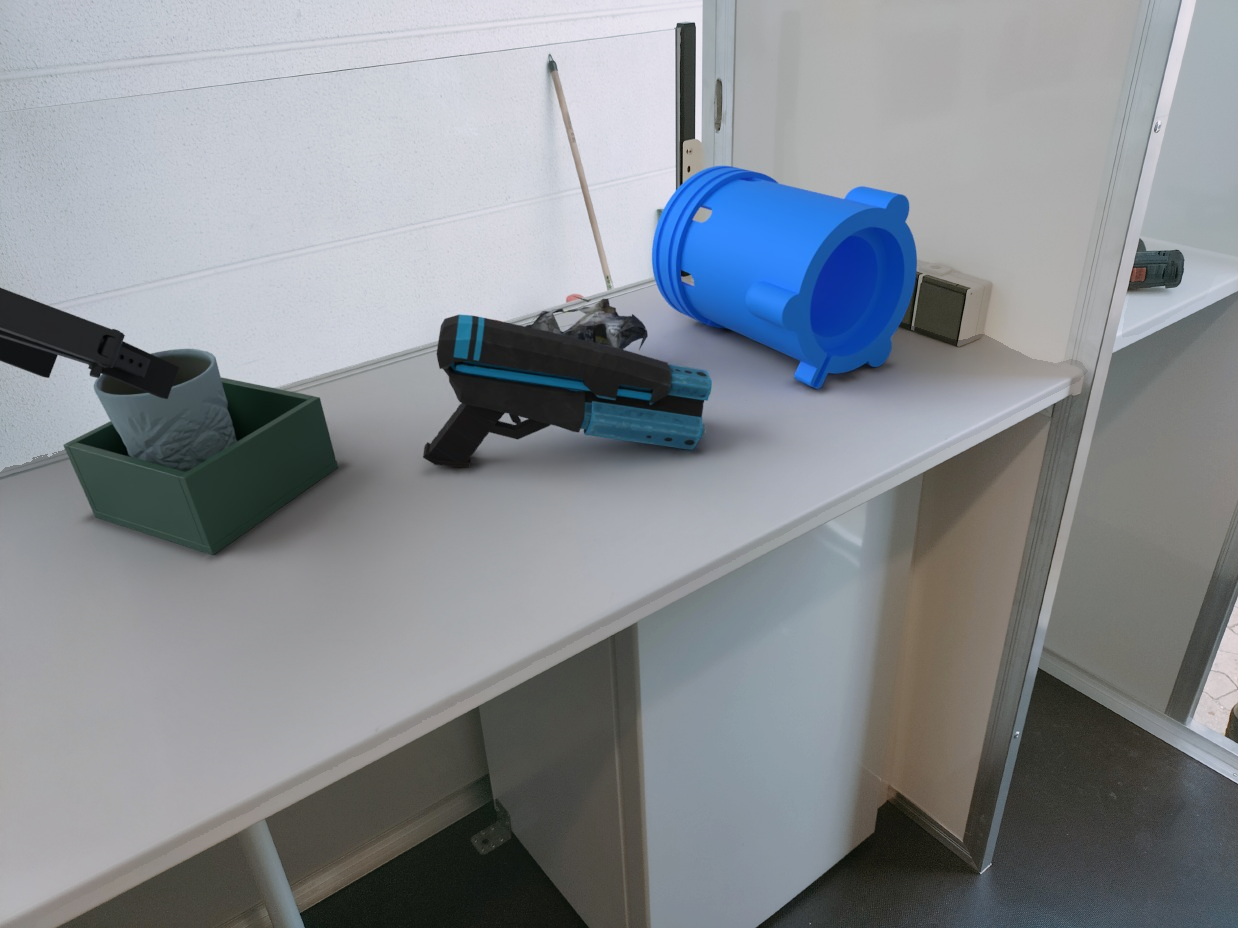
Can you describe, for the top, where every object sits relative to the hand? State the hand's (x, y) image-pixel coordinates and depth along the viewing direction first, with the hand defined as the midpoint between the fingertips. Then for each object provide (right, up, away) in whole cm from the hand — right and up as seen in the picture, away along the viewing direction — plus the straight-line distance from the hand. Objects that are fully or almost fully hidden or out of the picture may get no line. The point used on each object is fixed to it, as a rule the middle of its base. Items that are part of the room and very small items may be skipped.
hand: (109, 372), depth 70 cm
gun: (+37, -6, +16) cm, 41 cm away
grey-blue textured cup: (+1, -10, +12) cm, 16 cm away
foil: (+36, +3, +31) cm, 48 cm away
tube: (+61, +7, +36) cm, 71 cm away
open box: (+3, -10, +12) cm, 16 cm away
